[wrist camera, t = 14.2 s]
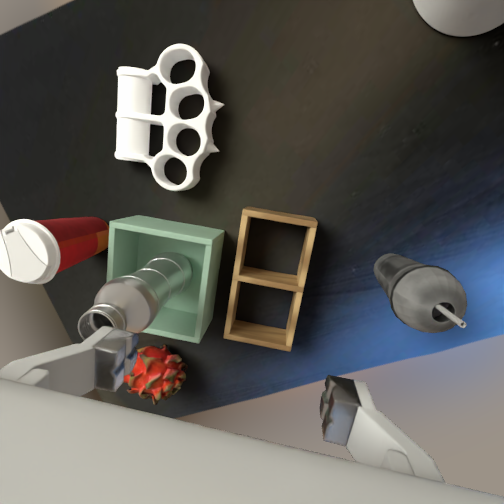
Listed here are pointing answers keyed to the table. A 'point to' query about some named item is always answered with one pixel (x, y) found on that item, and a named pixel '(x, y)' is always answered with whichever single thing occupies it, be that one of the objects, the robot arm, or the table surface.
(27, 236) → the paper cup
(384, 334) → the table surface
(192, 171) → the knuckle duster
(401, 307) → the beverage cup
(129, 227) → the open storage box
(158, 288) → the silver metal bottle
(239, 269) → the rack
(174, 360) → the dragon fruit
